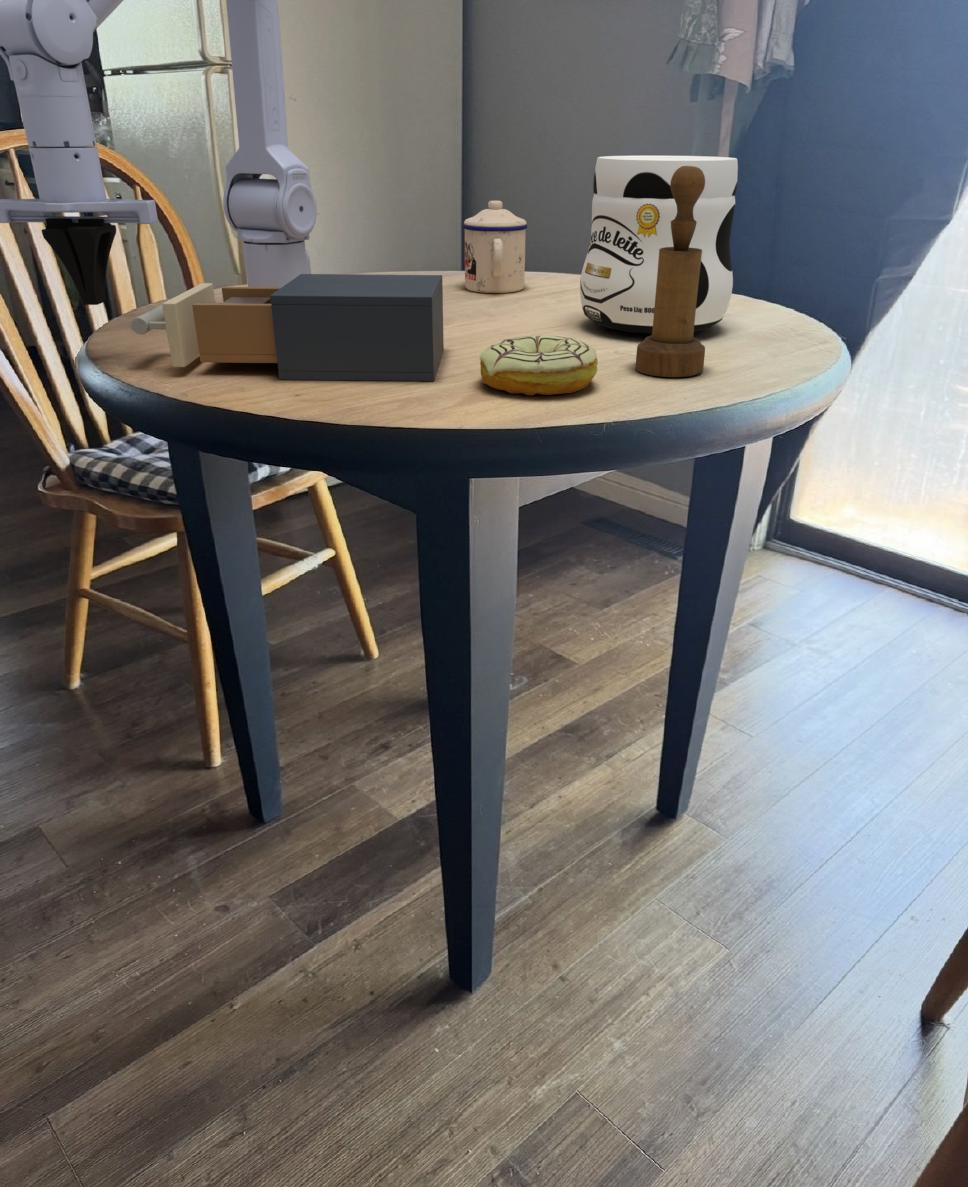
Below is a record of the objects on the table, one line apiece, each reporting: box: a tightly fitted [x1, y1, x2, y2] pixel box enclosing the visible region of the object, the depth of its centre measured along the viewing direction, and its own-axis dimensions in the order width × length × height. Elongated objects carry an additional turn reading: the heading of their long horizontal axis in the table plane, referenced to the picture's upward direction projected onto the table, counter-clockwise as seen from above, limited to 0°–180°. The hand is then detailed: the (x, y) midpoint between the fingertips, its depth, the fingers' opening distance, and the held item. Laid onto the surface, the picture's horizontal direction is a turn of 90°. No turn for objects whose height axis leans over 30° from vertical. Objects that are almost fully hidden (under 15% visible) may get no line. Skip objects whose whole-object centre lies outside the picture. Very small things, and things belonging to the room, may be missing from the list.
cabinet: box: [270, 273, 445, 382], centre depth 86 cm, size 15×13×8 cm
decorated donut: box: [479, 335, 599, 396], centre depth 80 cm, size 10×11×4 cm
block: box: [222, 297, 271, 304], centre depth 86 cm, size 4×4×4 cm
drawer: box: [130, 282, 282, 368], centre depth 86 cm, size 18×11×6 cm, turn 88°
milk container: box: [579, 154, 739, 335], centre depth 99 cm, size 17×17×18 cm
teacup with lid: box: [462, 200, 528, 294], centre depth 123 cm, size 12×9×12 cm
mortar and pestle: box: [635, 166, 706, 378], centre depth 82 cm, size 7×6×18 cm
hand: (94, 303), depth 85 cm, fingers closed
